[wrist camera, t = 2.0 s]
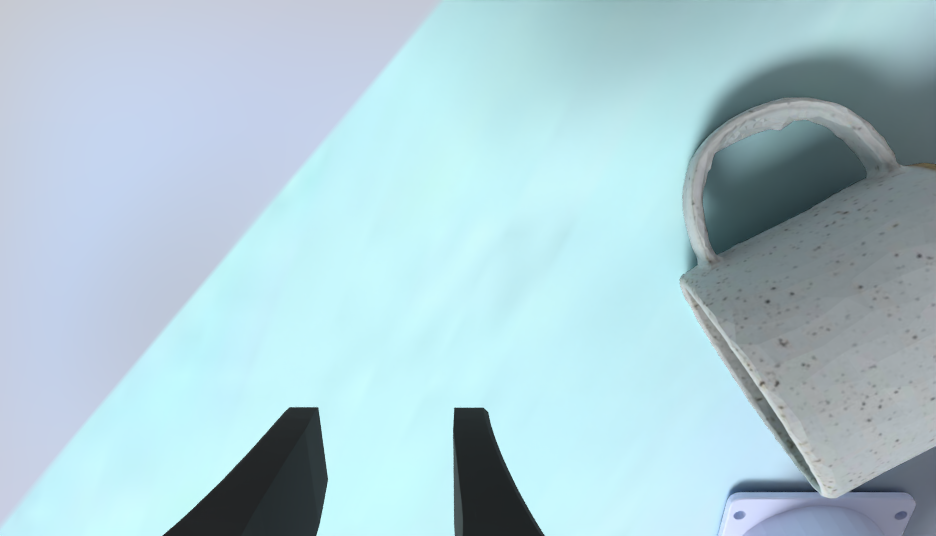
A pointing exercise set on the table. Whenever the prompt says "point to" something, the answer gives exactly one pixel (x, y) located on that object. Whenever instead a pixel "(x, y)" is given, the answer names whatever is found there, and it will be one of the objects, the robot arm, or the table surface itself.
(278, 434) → the robot arm
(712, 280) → the ceramic mug
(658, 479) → the table surface
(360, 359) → the table surface
